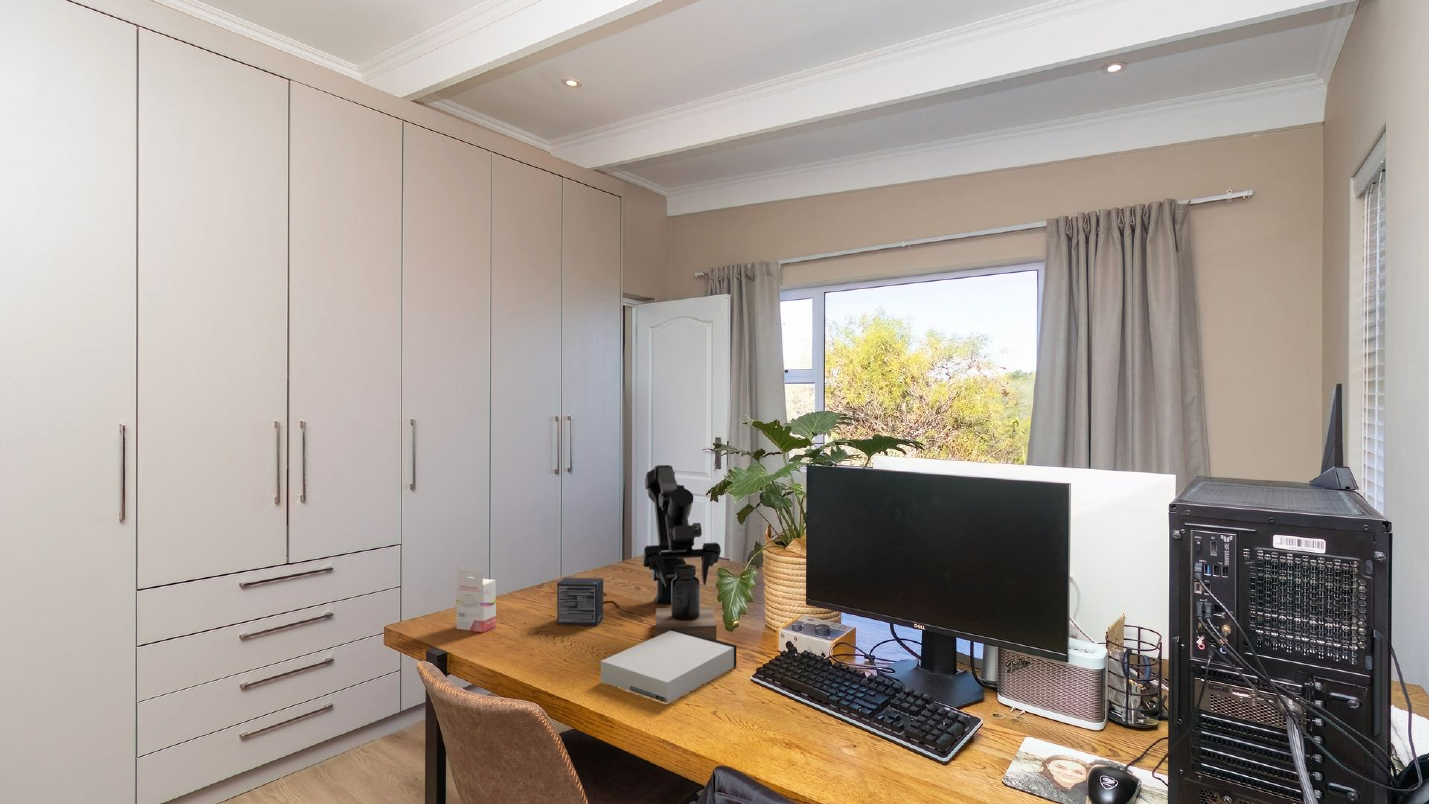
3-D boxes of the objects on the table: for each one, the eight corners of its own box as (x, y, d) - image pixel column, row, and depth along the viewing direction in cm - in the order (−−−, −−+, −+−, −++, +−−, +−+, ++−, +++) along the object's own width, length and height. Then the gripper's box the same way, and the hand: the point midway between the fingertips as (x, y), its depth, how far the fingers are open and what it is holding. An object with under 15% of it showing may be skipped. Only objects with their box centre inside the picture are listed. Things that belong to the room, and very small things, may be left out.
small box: (604, 618, 174) (604, 577, 174) (597, 626, 168) (597, 584, 168) (564, 616, 175) (564, 576, 175) (556, 625, 169) (556, 583, 169)
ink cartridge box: (497, 627, 167) (497, 567, 167) (483, 633, 162) (483, 572, 162) (469, 622, 170) (469, 564, 170) (455, 628, 166) (455, 568, 166)
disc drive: (736, 668, 142) (736, 644, 142) (668, 708, 124) (668, 681, 124) (672, 650, 153) (672, 628, 153) (599, 684, 134) (599, 659, 134)
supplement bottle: (688, 610, 167) (688, 561, 167) (705, 617, 162) (705, 567, 162) (665, 615, 163) (665, 566, 163) (682, 623, 158) (682, 571, 158)
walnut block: (656, 624, 169) (656, 608, 169) (712, 623, 170) (712, 607, 170) (655, 644, 155) (655, 627, 155) (716, 643, 156) (716, 625, 156)
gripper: (644, 512, 164) (649, 569, 154) (719, 510, 168) (729, 565, 158) (640, 538, 172) (645, 594, 161) (712, 535, 176) (722, 589, 165)
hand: (685, 585), depth 161 cm, fingers open, 9 cm apart
